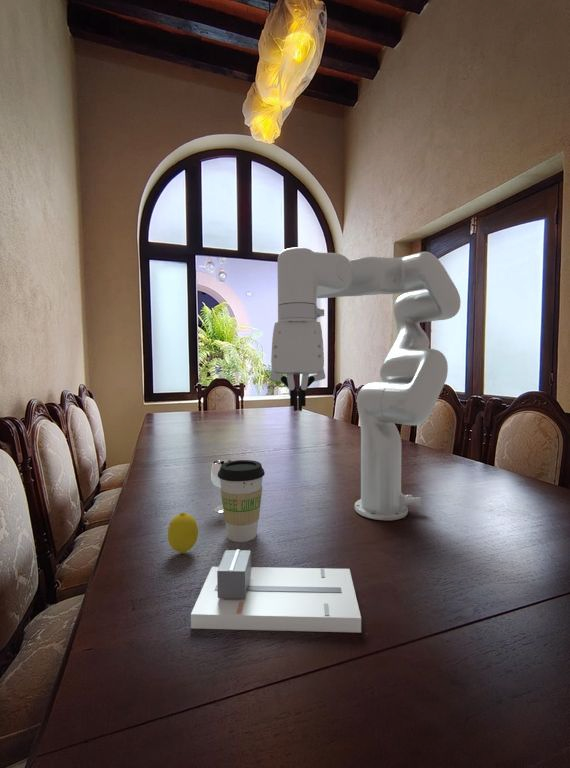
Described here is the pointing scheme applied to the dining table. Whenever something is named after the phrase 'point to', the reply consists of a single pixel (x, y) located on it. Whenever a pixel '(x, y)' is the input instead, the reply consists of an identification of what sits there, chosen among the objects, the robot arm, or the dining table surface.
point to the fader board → (282, 602)
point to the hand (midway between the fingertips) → (297, 409)
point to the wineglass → (217, 479)
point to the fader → (234, 574)
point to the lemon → (182, 532)
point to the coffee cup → (241, 498)
